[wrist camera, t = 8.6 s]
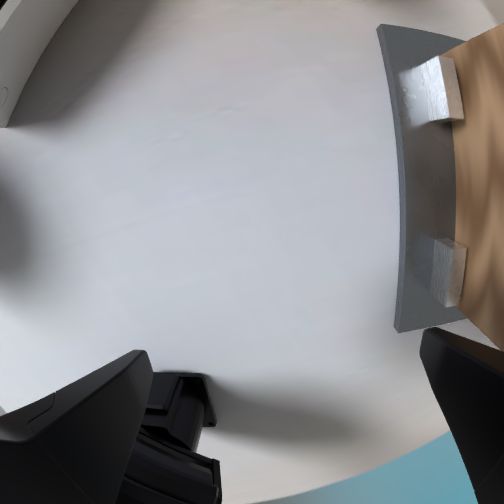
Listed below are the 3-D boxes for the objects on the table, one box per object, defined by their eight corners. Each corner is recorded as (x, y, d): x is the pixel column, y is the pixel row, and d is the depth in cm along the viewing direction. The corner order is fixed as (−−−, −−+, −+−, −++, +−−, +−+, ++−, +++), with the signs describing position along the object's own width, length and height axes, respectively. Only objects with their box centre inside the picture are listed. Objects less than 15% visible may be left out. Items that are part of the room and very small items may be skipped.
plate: (494, 304, 20) (515, 321, 17) (393, 326, 21) (410, 351, 17) (488, 53, 14) (513, 44, 10) (376, 29, 15) (393, 8, 11)
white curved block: (74, -36, 13) (38, -78, 4) (108, -24, 15) (81, -72, 6) (-16, 111, 17) (-79, 126, 9) (13, 128, 19) (-49, 147, 11)
